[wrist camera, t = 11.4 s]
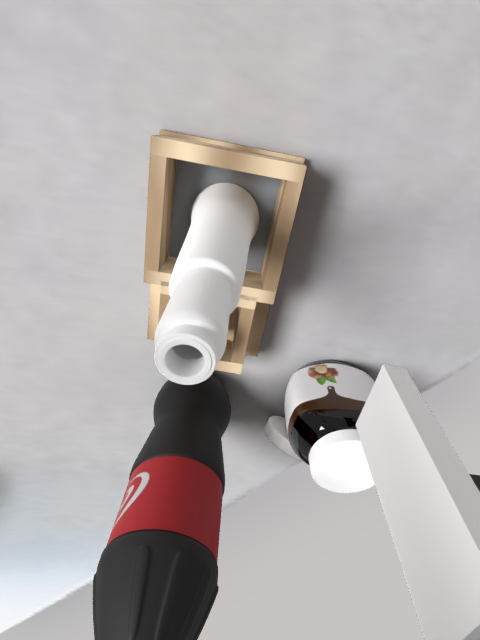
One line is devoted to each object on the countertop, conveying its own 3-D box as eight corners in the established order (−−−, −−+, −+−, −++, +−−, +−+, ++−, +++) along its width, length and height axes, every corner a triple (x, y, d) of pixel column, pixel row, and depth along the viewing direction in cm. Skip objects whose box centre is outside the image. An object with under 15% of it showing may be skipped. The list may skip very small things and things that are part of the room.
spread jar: (375, 359, 40) (418, 439, 30) (356, 433, 45) (387, 523, 35) (268, 354, 40) (273, 433, 30) (261, 429, 46) (264, 517, 35)
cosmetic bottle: (256, 178, 30) (265, 273, 11) (261, 248, 33) (275, 420, 14) (186, 185, 31) (74, 289, 11) (197, 253, 34) (123, 428, 14)
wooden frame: (303, 157, 30) (312, 162, 26) (257, 351, 40) (258, 379, 35) (162, 129, 30) (146, 130, 25) (149, 333, 39) (136, 360, 35)
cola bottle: (146, 389, 43) (-23, 809, 17) (195, 349, 40) (84, 781, 14) (197, 428, 46) (123, 841, 19) (246, 393, 43) (238, 824, 16)
